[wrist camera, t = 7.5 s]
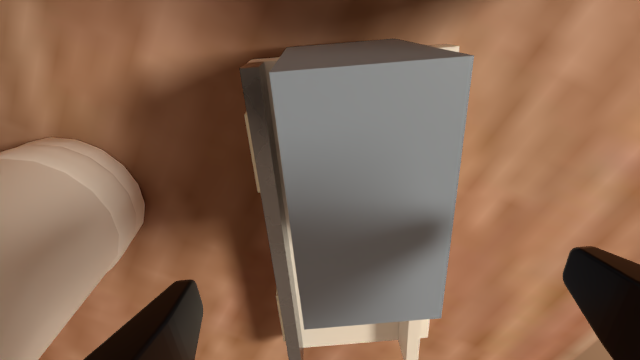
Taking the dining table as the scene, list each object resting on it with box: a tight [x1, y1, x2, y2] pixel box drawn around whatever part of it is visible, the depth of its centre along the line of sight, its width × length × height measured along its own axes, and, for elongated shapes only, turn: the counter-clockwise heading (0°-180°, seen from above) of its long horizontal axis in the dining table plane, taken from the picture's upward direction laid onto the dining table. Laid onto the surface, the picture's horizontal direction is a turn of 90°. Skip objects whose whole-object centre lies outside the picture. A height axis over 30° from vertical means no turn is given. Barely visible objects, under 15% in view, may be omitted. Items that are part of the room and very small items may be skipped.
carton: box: [269, 39, 474, 330], centre depth 14 cm, size 5×9×8 cm, turn 4°
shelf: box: [239, 44, 459, 360], centre depth 20 cm, size 20×10×4 cm, turn 4°
